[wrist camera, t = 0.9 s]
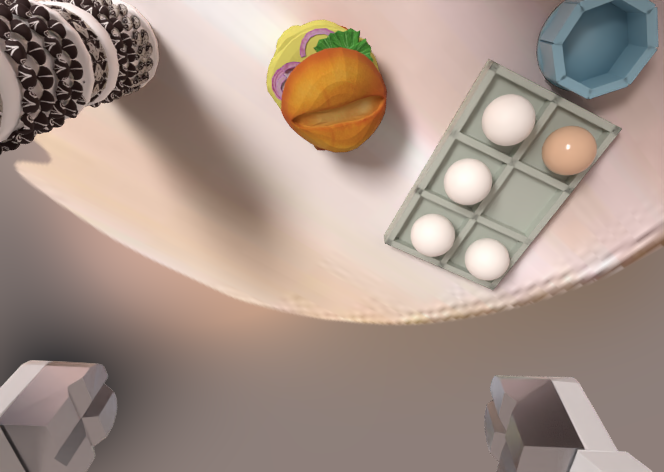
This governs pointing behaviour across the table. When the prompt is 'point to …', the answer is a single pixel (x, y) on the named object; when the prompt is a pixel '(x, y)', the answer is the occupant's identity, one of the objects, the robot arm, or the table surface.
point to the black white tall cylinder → (67, 61)
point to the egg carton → (491, 178)
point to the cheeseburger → (327, 85)
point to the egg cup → (597, 44)
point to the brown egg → (569, 150)
